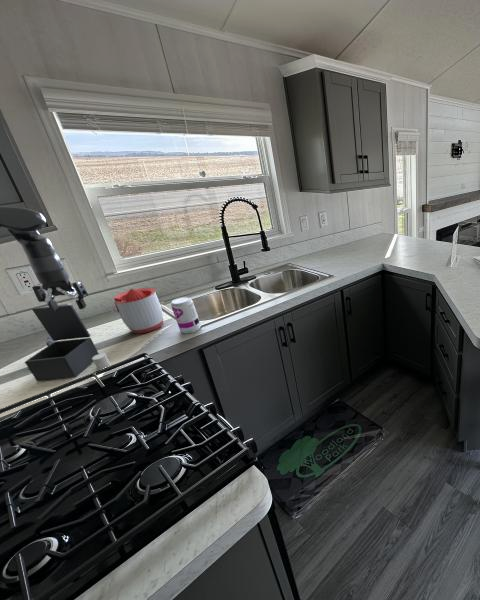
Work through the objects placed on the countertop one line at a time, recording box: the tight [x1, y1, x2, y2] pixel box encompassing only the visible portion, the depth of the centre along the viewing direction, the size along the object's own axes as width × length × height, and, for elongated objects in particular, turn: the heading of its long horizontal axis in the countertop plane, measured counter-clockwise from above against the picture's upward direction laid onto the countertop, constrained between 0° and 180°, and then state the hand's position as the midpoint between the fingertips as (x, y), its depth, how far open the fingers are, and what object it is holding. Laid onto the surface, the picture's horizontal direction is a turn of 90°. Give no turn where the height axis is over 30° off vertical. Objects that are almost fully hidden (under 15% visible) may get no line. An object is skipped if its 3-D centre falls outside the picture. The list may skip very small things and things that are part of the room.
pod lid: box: [31, 302, 91, 342], centre depth 126 cm, size 14×13×5 cm
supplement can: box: [170, 296, 202, 334], centre depth 147 cm, size 8×8×15 cm
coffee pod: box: [92, 352, 112, 371], centre depth 124 cm, size 4×4×5 cm
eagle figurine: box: [46, 336, 54, 347], centre depth 133 cm, size 8×7×9 cm
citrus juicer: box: [111, 287, 164, 335], centre depth 148 cm, size 16×17×20 cm
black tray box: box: [24, 337, 100, 382], centre depth 124 cm, size 14×13×9 cm
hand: (69, 309), depth 120 cm, fingers open, 8 cm apart
